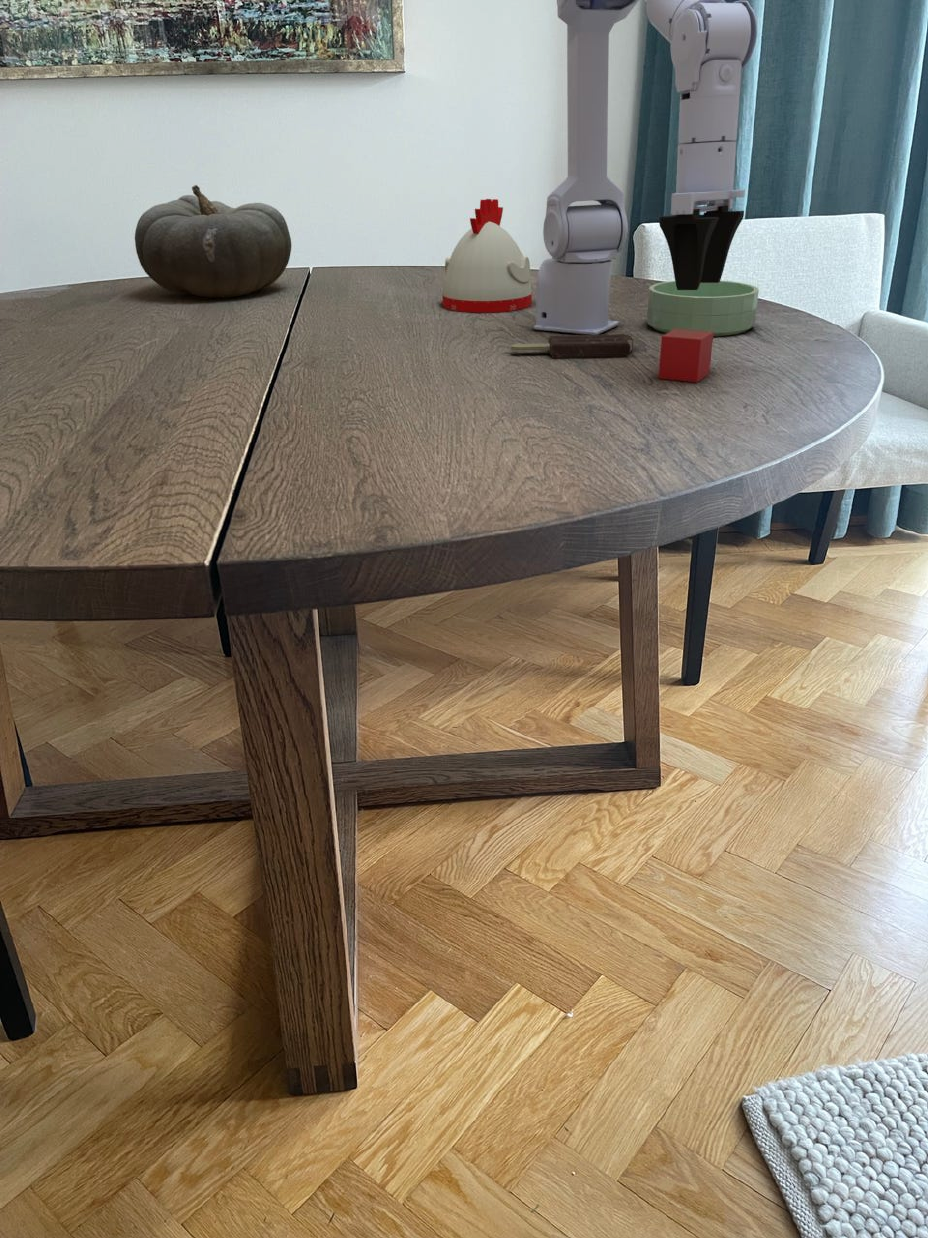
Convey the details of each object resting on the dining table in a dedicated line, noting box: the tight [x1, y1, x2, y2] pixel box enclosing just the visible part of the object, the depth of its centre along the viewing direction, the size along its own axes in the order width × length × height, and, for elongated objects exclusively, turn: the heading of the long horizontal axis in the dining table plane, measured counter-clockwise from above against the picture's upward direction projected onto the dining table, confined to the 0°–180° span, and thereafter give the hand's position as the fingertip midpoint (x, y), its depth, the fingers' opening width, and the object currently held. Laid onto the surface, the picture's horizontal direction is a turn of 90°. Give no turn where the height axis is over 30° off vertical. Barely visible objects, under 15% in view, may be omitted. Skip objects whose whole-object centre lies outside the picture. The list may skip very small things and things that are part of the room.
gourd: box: [134, 184, 292, 299], centre depth 157 cm, size 25×25×17 cm
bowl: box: [646, 280, 760, 337], centre depth 126 cm, size 14×14×5 cm
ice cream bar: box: [510, 333, 634, 359], centre depth 114 cm, size 5×2×15 cm
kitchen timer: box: [441, 198, 533, 314], centre depth 141 cm, size 14×14×15 cm
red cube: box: [658, 329, 714, 384], centre depth 102 cm, size 4×4×5 cm
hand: (698, 286), depth 99 cm, fingers open, 7 cm apart
